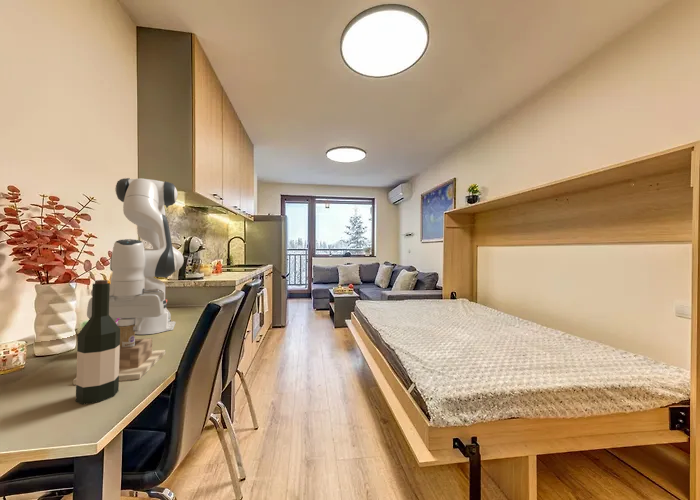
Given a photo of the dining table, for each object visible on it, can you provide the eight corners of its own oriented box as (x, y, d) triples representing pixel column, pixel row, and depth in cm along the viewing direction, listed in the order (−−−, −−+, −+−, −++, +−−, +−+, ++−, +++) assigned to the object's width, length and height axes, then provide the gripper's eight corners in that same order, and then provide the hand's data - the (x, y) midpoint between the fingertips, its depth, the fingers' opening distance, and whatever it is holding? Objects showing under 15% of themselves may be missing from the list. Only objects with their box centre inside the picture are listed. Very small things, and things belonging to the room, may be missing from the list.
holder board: (113, 357, 101) (114, 336, 101) (165, 353, 106) (165, 333, 106) (73, 384, 80) (74, 357, 80) (139, 379, 85) (140, 353, 85)
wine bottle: (120, 396, 74) (123, 280, 75) (75, 408, 68) (79, 282, 69) (116, 385, 80) (119, 278, 81) (75, 395, 74) (79, 280, 75)
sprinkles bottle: (129, 362, 91) (130, 320, 91) (113, 362, 91) (114, 320, 91) (137, 356, 96) (138, 316, 96) (122, 357, 95) (123, 316, 95)
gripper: (167, 287, 99) (166, 327, 99) (96, 288, 94) (95, 330, 94) (160, 289, 93) (159, 332, 93) (84, 290, 88) (83, 336, 87)
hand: (126, 331), depth 93 cm, fingers closed on sprinkles bottle, 4 cm apart
